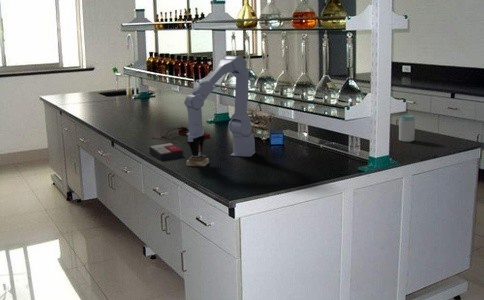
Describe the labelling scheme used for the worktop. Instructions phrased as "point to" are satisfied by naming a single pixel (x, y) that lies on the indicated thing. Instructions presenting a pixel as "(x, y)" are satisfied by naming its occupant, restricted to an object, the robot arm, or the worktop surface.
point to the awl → (198, 153)
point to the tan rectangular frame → (197, 161)
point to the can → (406, 128)
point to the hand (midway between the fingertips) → (197, 154)
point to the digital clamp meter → (183, 132)
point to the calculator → (166, 151)
